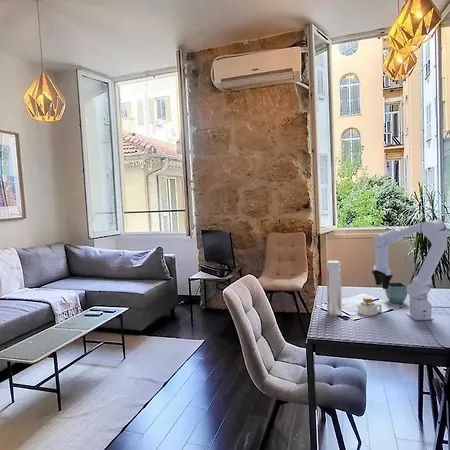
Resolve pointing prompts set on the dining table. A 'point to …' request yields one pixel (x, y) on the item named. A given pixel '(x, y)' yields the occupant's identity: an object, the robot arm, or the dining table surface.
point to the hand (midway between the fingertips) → (381, 286)
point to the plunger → (367, 301)
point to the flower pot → (396, 292)
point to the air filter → (334, 288)
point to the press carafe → (369, 309)
